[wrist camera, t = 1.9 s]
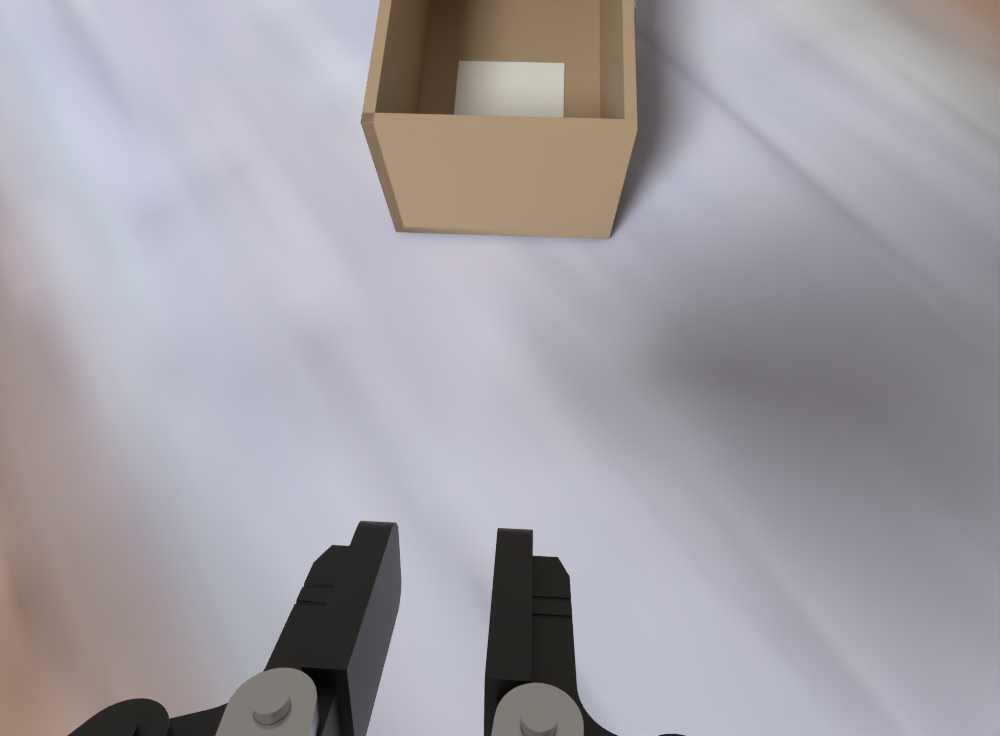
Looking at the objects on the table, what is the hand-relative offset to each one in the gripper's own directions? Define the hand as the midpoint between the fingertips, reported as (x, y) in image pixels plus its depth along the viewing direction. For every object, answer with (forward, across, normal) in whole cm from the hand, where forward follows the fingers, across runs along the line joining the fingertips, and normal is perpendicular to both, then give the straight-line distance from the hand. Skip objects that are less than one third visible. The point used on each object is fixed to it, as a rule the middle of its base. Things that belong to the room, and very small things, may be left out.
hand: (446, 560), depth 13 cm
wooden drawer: (+31, 0, -10) cm, 32 cm away
